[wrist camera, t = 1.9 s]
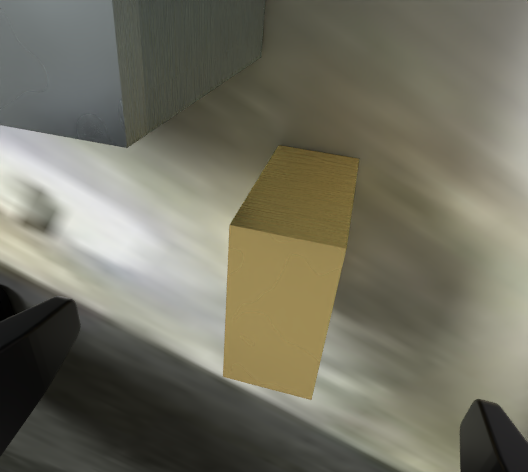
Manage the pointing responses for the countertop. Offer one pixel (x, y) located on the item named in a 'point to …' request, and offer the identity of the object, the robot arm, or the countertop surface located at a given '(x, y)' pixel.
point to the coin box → (118, 62)
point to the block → (287, 269)
